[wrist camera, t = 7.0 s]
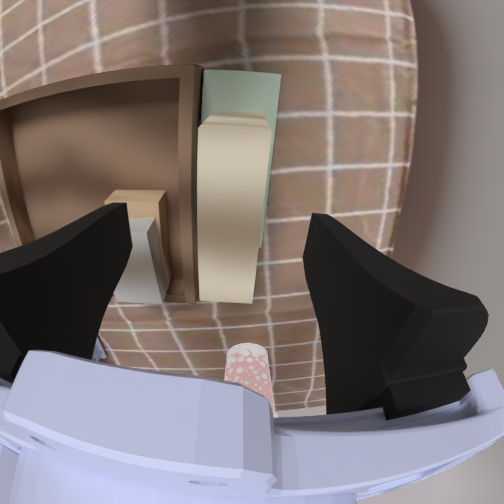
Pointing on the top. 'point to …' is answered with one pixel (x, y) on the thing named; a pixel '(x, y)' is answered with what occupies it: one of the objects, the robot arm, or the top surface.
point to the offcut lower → (148, 215)
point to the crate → (106, 154)
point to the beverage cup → (250, 369)
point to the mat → (243, 102)
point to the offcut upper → (143, 266)
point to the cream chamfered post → (230, 202)
